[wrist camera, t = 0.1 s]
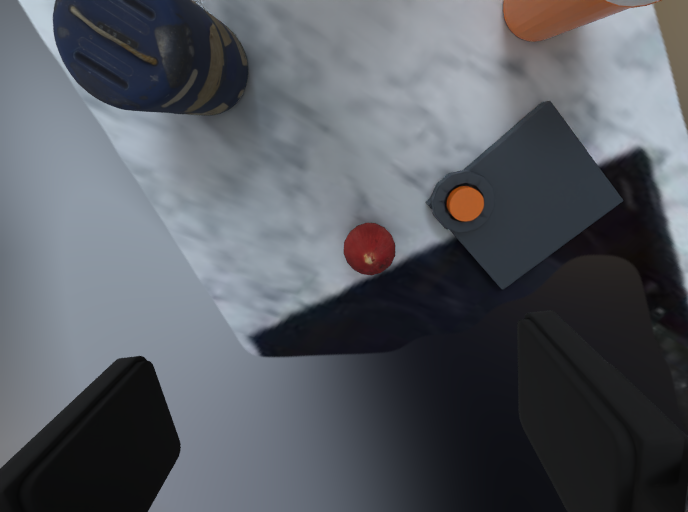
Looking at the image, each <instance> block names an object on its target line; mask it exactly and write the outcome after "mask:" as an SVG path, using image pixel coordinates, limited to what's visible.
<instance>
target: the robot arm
mask: <svg viewBox="0 0 688 512" xmlns="http://www.w3.org/2000/svg"><path fill="white" fill-rule="evenodd" d="M517 328H518V329H517V330H518V394H519V417H520V421H521V424H522V426H523V429H524V431H525V433H526V434H527V436H528V438H529V440H530V442H531V444H532V446H533V448H534V449H535V451H536V453H537V455H538V457H539V459H540V461H541V463H542V465H543V466H544V468H545V470H546V472H547V474H548V476H549V478H550V479H551V482H552V483H553V485H554V487H555V489H556V491H557V493H558V495H559V496H560V498H561V500H562V502H563V504H564V506H565V508H566V509H567V512H688V437H687V435H685V434H684V433H683V432H682V431H681V430H680V429H679V428H678V427H677V426H676V425H675V424H674V423H673V422H672V421H671V420H670V419H669V418H668V417H666V416H665V415H664V414H663V413H662V412H661V411H660V410H659V409H658V408H657V407H656V406H655V405H654V404H653V403H652V402H651V401H649V399H648V398H646V397H645V396H644V395H643V394H642V393H641V392H640V391H639V390H638V389H637V388H636V387H635V386H634V385H633V384H632V383H631V382H630V381H629V380H627V378H626V377H624V376H623V375H622V374H621V373H620V372H619V371H618V370H617V369H616V368H615V367H614V366H612V365H611V364H610V363H607V362H606V361H605V360H604V359H603V358H602V357H601V356H600V355H599V354H598V353H597V352H596V351H595V350H593V348H592V347H590V345H588V344H587V343H586V342H585V341H584V340H583V339H582V338H581V337H580V336H579V335H578V334H577V333H576V332H575V331H574V330H573V329H572V328H571V327H570V326H569V325H567V324H566V323H565V321H563V320H562V319H561V318H560V317H559V316H558V315H557V314H556V313H555V312H554V311H542V312H532V313H527V314H526V315H525V319H524V320H519V321H518V327H517ZM180 448H181V447H180V440H179V438H178V434H177V432H176V429H175V426H174V423H173V420H172V417H171V415H170V412H169V409H168V406H167V403H166V401H165V397H164V395H163V392H162V389H161V386H160V383H159V380H158V378H157V375H156V372H155V369H154V367H153V364H152V363H151V362H150V361H147V360H146V359H145V358H144V357H142V356H136V357H128V358H120V359H117V360H116V361H115V362H114V363H113V364H112V365H110V366H109V367H108V368H107V369H106V370H105V371H104V372H103V373H102V374H101V375H100V376H99V377H98V378H96V379H95V380H94V381H93V382H92V383H91V384H90V385H89V386H88V387H87V388H86V389H85V390H84V391H83V392H82V393H81V394H79V395H78V396H77V397H76V398H75V399H74V400H73V401H72V402H71V403H70V404H69V405H68V406H67V407H66V408H64V410H62V411H61V412H60V413H59V414H58V415H57V416H56V417H55V418H54V419H53V420H52V421H51V422H50V423H49V424H47V425H46V426H45V427H44V428H43V429H42V430H41V431H40V432H39V433H38V434H37V435H36V436H35V437H34V438H32V439H31V440H30V441H29V442H28V443H27V444H26V445H25V446H24V447H23V448H22V449H21V450H20V451H19V452H18V453H16V454H15V455H14V456H13V457H12V458H11V459H10V460H9V461H8V462H7V463H6V464H5V465H4V466H3V467H2V468H1V469H0V512H148V510H149V508H150V507H151V505H152V503H153V501H154V499H155V498H156V496H157V494H158V492H159V491H160V489H161V487H162V485H163V484H164V482H165V480H166V478H167V476H168V475H169V473H170V471H171V469H172V468H173V466H174V464H175V462H176V460H177V459H178V457H179V453H180Z"/></svg>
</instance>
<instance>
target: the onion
mask: <svg viewBox="0 0 688 512" xmlns="http://www.w3.org/2000/svg"><path fill="white" fill-rule="evenodd" d="M344 255H345V258H346V260H347V263H348V264H349V265H350V266H351V267H352V268H353V269H354V270H355V271H357V272H359V273H361V274H365V275H374V274H378V273H381V272H383V271H384V270H385V269H387V268H388V267H389V266H390V265H391V263H392V261H393V259H394V257H395V243H394V240H393V238H392V235H391V234H390V233H389V232H388V231H387V230H386V229H385V228H384V227H382V226H380V225H378V224H376V223H364V224H361V225H358V226H356V227H355V228H354V229H353V230H352V231H351V232H350V233H349V234H348V236H347V238H346V240H345V242H344Z"/></svg>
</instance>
